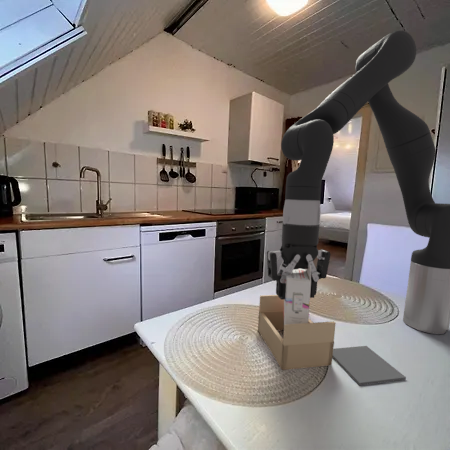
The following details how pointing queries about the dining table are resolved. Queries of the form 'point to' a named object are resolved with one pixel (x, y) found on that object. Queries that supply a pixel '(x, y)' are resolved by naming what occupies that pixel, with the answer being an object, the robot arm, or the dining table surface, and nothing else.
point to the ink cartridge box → (297, 296)
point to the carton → (294, 337)
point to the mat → (365, 365)
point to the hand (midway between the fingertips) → (295, 297)
